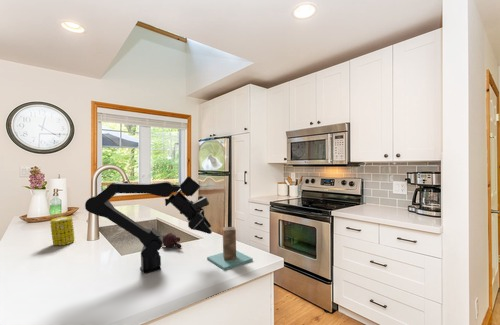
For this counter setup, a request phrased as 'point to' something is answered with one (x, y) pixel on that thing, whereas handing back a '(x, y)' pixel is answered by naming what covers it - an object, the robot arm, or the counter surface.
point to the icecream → (171, 240)
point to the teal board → (227, 264)
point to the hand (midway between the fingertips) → (210, 229)
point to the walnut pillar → (229, 243)
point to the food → (62, 230)
